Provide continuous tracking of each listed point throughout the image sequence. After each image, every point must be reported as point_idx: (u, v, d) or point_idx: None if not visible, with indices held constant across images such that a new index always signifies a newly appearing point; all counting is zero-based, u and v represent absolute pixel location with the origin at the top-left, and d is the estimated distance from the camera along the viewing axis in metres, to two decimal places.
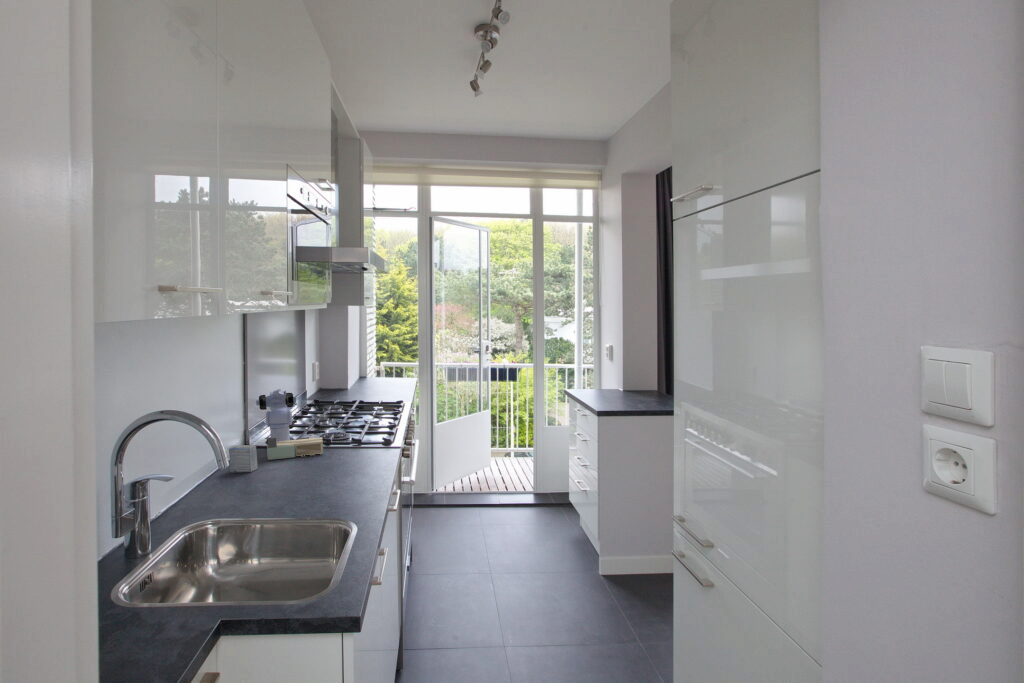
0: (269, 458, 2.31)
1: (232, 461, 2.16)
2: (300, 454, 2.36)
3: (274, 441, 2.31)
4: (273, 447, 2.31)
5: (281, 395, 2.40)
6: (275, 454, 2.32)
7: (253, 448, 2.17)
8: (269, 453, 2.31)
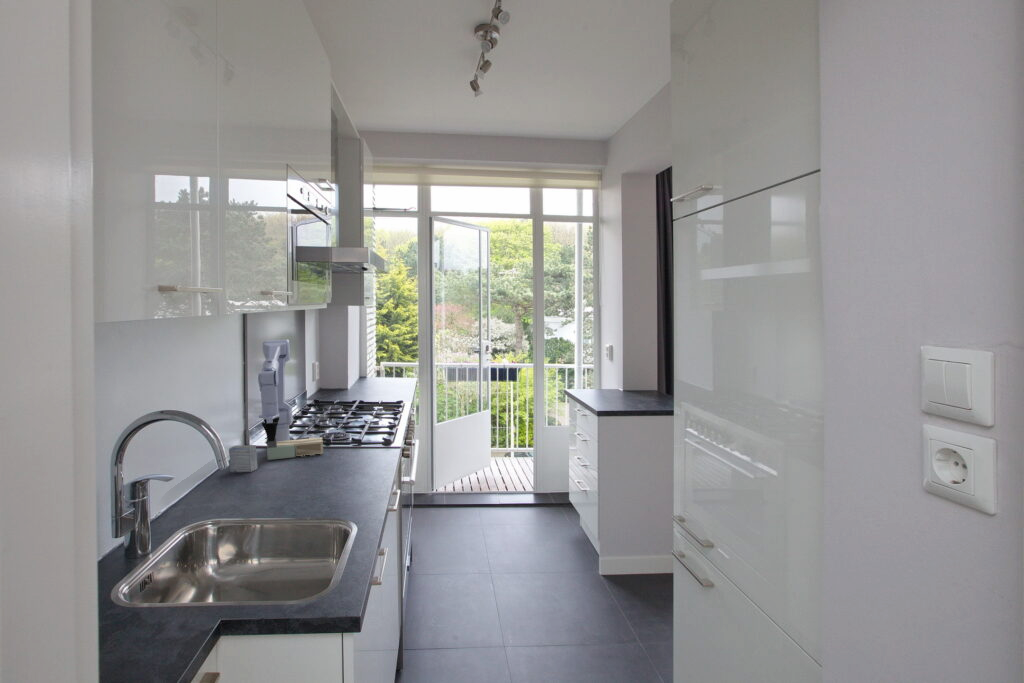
0: (269, 458, 2.31)
1: (232, 461, 2.16)
2: (300, 454, 2.36)
3: (274, 441, 2.31)
4: (273, 447, 2.31)
5: None
6: (275, 454, 2.32)
7: (253, 448, 2.17)
8: (269, 453, 2.31)
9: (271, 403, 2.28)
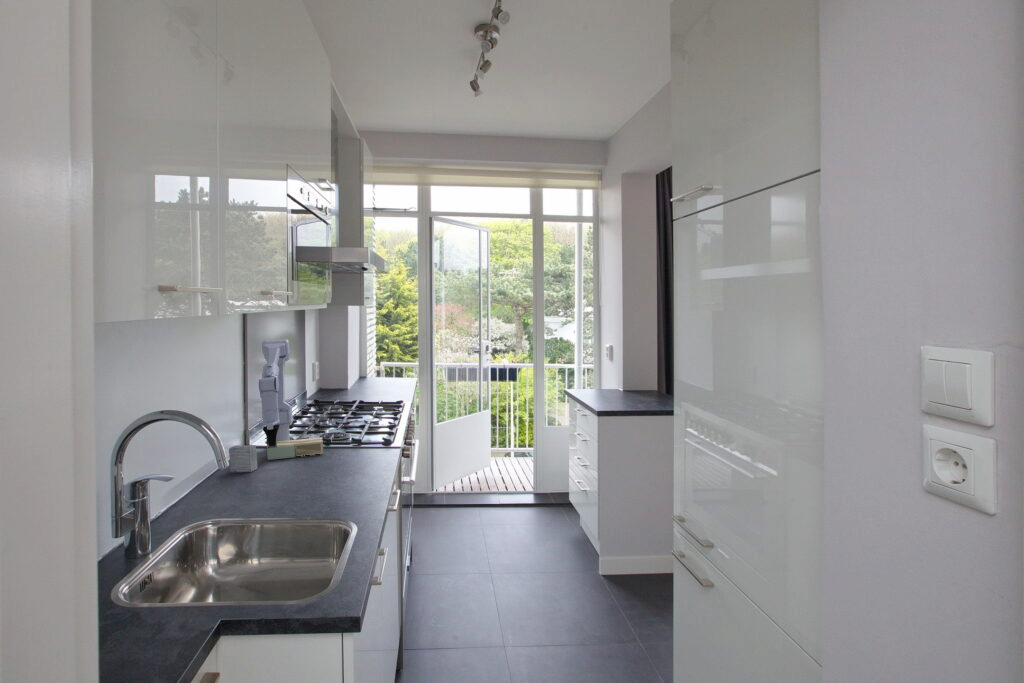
0: (269, 458, 2.31)
1: (232, 461, 2.16)
2: (300, 454, 2.36)
3: None
4: (273, 447, 2.31)
5: None
6: (275, 454, 2.32)
7: (253, 448, 2.17)
8: (269, 453, 2.31)
9: (271, 409, 2.28)
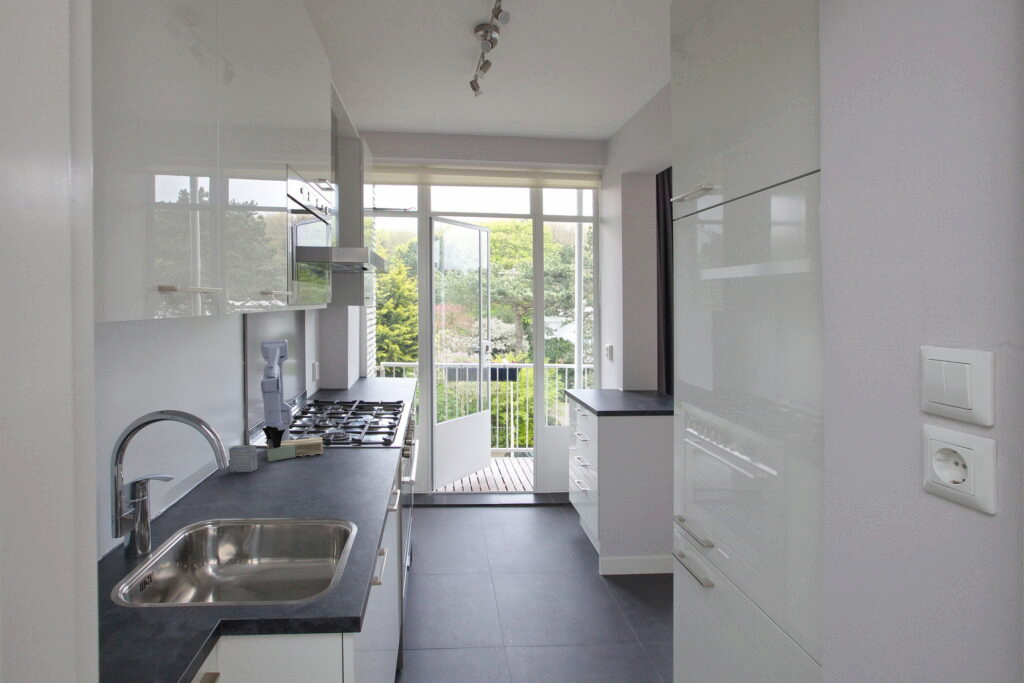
0: (270, 459, 2.29)
1: (232, 461, 2.16)
2: (300, 454, 2.36)
3: None
4: (274, 448, 2.30)
5: (270, 425, 2.26)
6: (276, 455, 2.30)
7: (253, 448, 2.17)
8: (270, 454, 2.29)
9: (277, 410, 2.27)
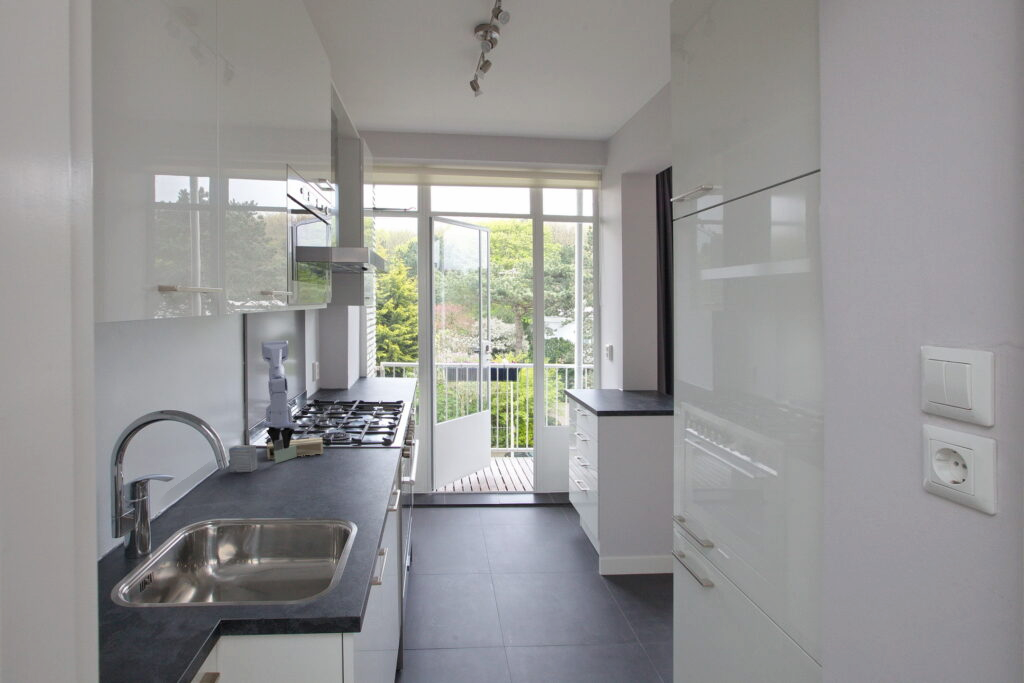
0: (277, 461, 2.26)
1: (232, 461, 2.16)
2: (300, 454, 2.36)
3: (281, 443, 2.28)
4: (280, 449, 2.27)
5: (281, 426, 2.24)
6: (281, 457, 2.28)
7: (253, 448, 2.17)
8: (277, 456, 2.26)
9: (287, 410, 2.26)
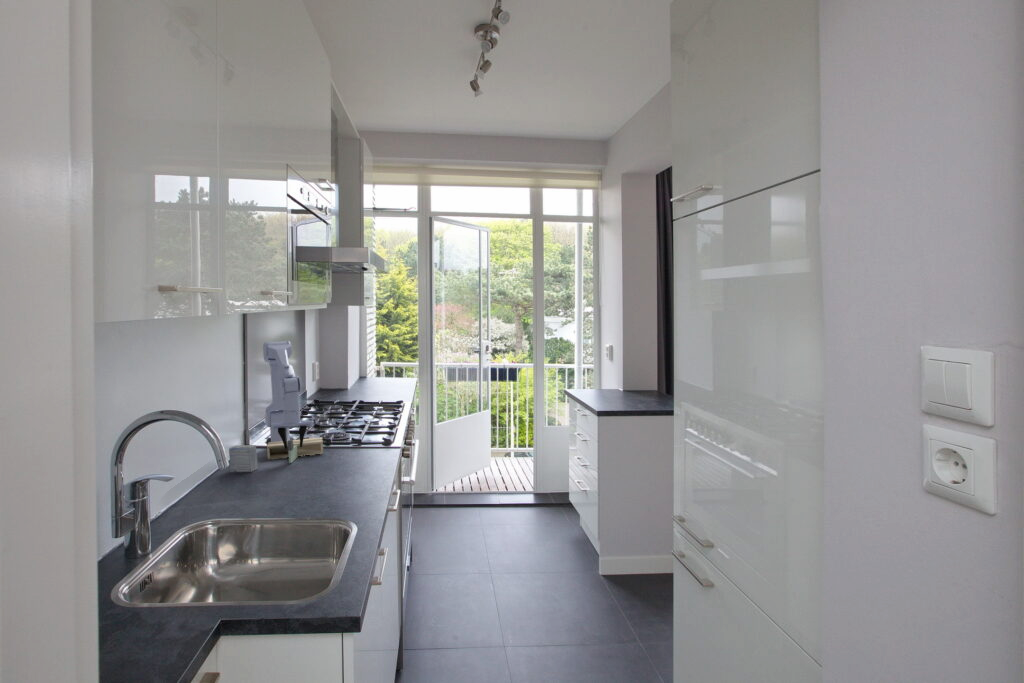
0: (291, 461, 2.26)
1: (232, 461, 2.16)
2: (300, 454, 2.36)
3: (292, 443, 2.27)
4: (292, 449, 2.27)
5: None
6: (292, 456, 2.28)
7: (253, 448, 2.17)
8: (291, 456, 2.26)
9: (299, 409, 2.27)
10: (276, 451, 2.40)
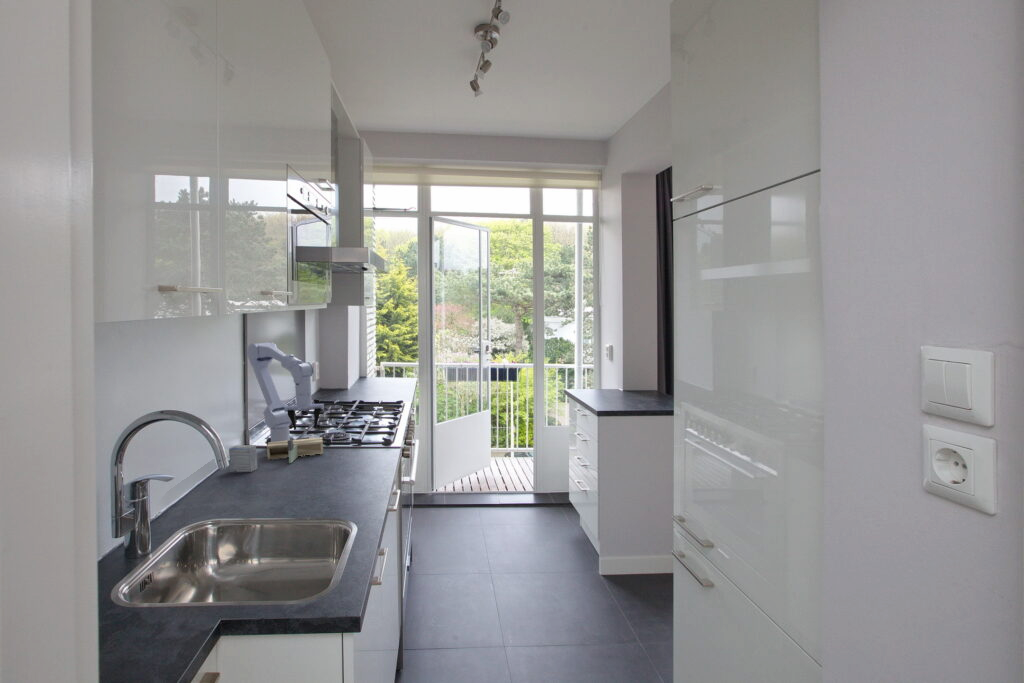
0: (291, 461, 2.26)
1: (232, 461, 2.16)
2: (300, 454, 2.36)
3: (292, 443, 2.27)
4: (292, 449, 2.27)
5: (308, 407, 2.40)
6: (292, 456, 2.28)
7: (253, 448, 2.17)
8: (291, 456, 2.26)
9: None
10: (276, 451, 2.40)
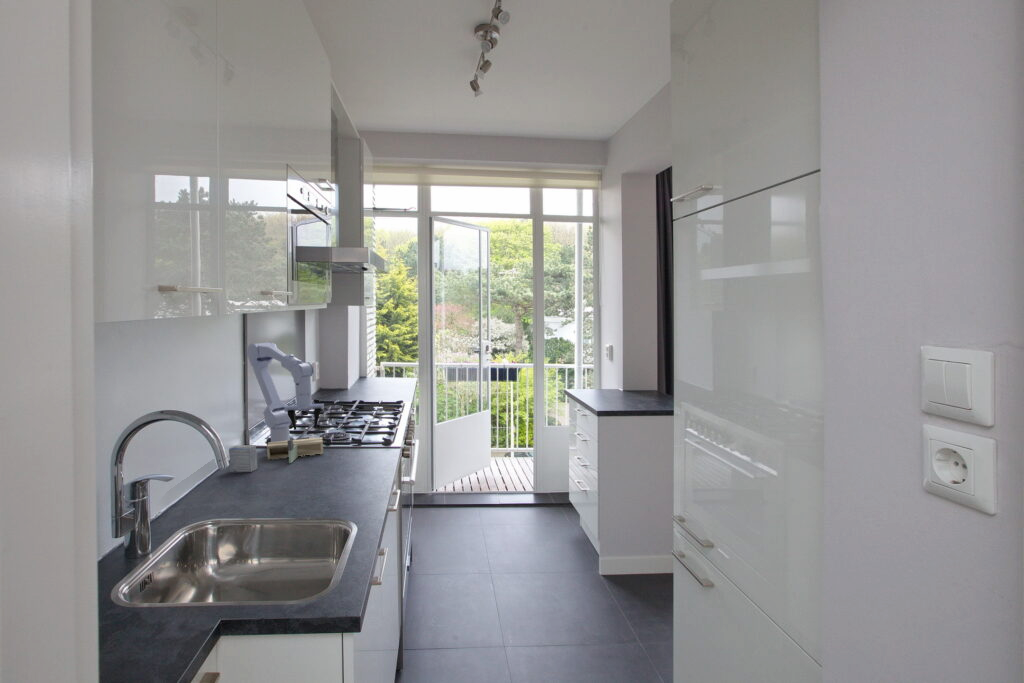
0: (291, 461, 2.26)
1: (232, 461, 2.16)
2: (300, 454, 2.36)
3: (292, 443, 2.27)
4: (292, 449, 2.27)
5: (309, 407, 2.40)
6: (292, 456, 2.28)
7: (253, 448, 2.17)
8: (291, 456, 2.26)
9: None
10: (276, 451, 2.40)
